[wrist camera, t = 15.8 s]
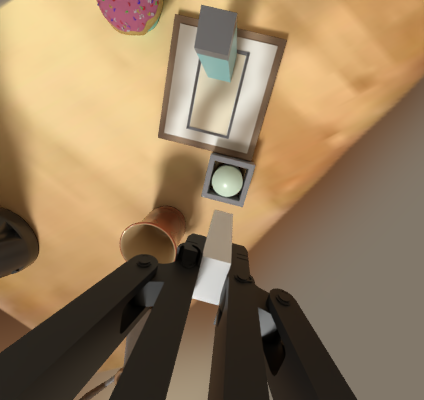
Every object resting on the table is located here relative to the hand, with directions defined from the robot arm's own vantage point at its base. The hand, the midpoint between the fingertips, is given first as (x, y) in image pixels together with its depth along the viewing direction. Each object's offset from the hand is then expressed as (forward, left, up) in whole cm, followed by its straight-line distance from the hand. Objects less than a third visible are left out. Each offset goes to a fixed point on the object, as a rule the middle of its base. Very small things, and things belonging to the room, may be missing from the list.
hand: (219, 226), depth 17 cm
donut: (-18, +20, -21) cm, 34 cm away
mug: (-8, -13, -21) cm, 26 cm away
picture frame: (-5, +12, -20) cm, 24 cm away
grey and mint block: (-5, +16, -19) cm, 25 cm away
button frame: (0, 0, -20) cm, 20 cm away
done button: (0, 0, -20) cm, 20 cm away
